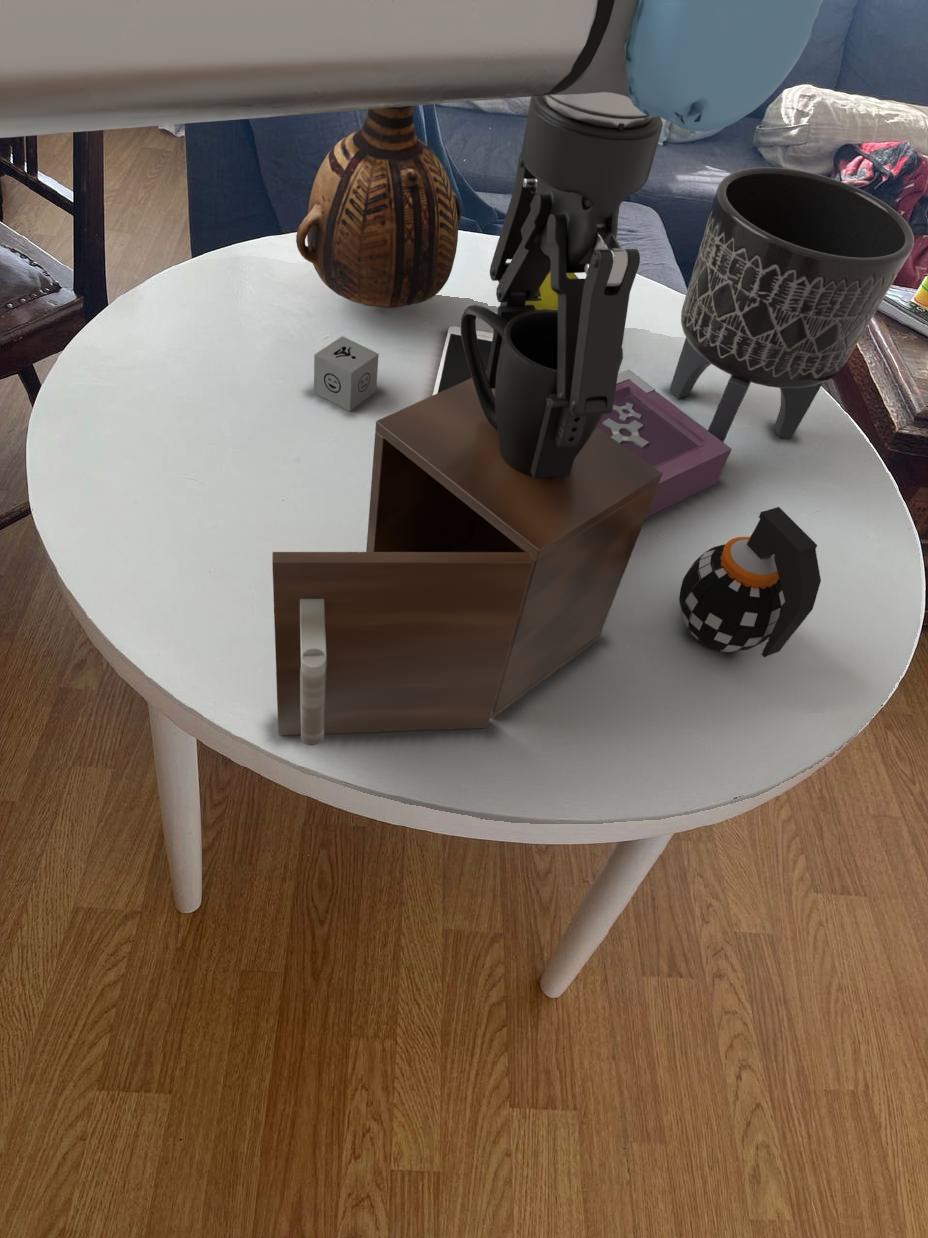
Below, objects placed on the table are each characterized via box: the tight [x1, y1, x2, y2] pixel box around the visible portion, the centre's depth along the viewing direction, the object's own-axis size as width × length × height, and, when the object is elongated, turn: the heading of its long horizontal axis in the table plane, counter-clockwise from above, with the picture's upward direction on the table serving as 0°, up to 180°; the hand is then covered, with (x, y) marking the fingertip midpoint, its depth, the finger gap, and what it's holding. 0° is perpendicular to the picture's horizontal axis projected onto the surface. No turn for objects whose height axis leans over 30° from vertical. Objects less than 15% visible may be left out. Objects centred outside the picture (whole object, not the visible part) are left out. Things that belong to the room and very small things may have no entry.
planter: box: [668, 166, 915, 443], centre depth 98 cm, size 20×20×26 cm
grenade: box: [678, 506, 822, 658], centre depth 80 cm, size 11×10×15 cm
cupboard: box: [365, 371, 663, 719], centre depth 75 cm, size 14×17×20 cm
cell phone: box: [432, 325, 494, 396], centre depth 107 cm, size 9×18×1 cm, turn 173°
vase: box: [295, 106, 462, 309], centre depth 104 cm, size 21×18×30 cm
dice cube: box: [313, 335, 380, 412], centre depth 101 cm, size 5×5×5 cm
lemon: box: [525, 270, 580, 310], centre depth 115 cm, size 11×8×8 cm
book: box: [596, 369, 733, 519], centre depth 97 cm, size 25×16×5 cm, turn 128°
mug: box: [460, 304, 624, 475], centre depth 65 cm, size 8×12×10 cm
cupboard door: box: [271, 551, 533, 746], centre depth 64 cm, size 7×17×20 cm, turn 98°
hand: (525, 427), depth 66 cm, fingers closed on mug, 10 cm apart
